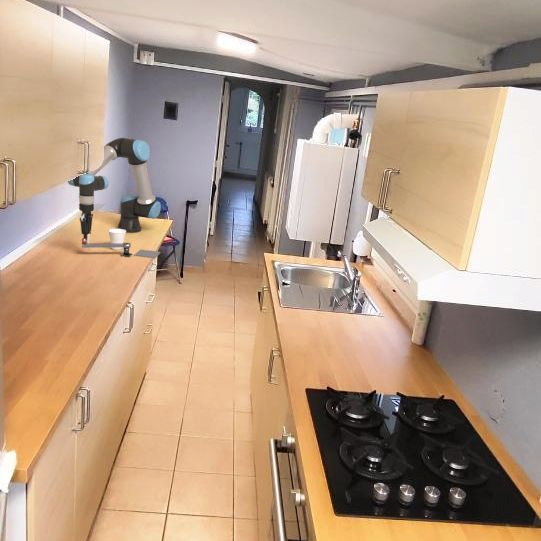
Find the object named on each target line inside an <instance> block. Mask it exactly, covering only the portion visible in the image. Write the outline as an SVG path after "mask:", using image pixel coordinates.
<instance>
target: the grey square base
mask: <svg viewBox="0 0 541 541" xmlns="http://www.w3.org/2000/svg"><path fill="white" fill-rule="evenodd" d="M119 256H120V257H123V256H124V257H125V258H131V257H132V256H133V253H130V248H124V247H123V252H122V253H121V254H120V255H119Z"/></svg>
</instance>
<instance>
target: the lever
mask: <svg viewBox="0 0 541 541" xmlns="http://www.w3.org/2000/svg"><path fill="white" fill-rule="evenodd" d="M81 245H82V246H81V247H82V248H90V249H91V248H111V247H123V249H124V248H129V249H130V248H131V246H132V245H131V243H130V242H124V243H111V242H109V243H108V242H106V243H103V242H102V243H101V242H100V243H99V242H93V243H92V242H91V243H90V242H89V243H87V238H81Z"/></svg>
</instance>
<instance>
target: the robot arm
mask: <svg viewBox="0 0 541 541" xmlns="http://www.w3.org/2000/svg"><path fill="white" fill-rule="evenodd" d="M103 147H104V160H103V163H102V165H101V166H100V167H99V168H98V169H96V170H94V171H90V172H88V173H86V174H83V175H80V176H78V177H76V178H75V179H73V180H70V181H67V184H68V185H69V186H73V187H76V188H77V187H78V189H79V190H78V191H79V193H78V200H79V201H78V202H79V203H78V210H79V211H81V217H79V221H80V230H81V235H83V238H87V243H90V235H91V234H92V225H93V217H94V214H93V213H92V212H94V210H95V207H94V206H95V205H94V203H95V192H96V191H103V190H106V189H107V188H108V186H109V184H110V183H109V182H110V181H109V179H108V177H106V176H105V175H97V174H99V172H100V171H101V170H103V168H104V167H105V166H107V165H108V164H109V163H110V162H112V161H114V160H116V159H118V158H124V159H127V162H128V165H130V166H131V168H132V174H133V176H134V181H135V186H136V191H137V194H130V195H128V194H127V195H123V196H121V199H120V219H119V222H118V224H117V229H123V230H126V233H131V234H132V233H139V232H141V231H142V225H141V223H140V218H146V219H149V220H150V219H151V220H155V219H156V218H158V217H159V215H160V213H161V209H162V206H161V204H162V203H161V202H160V201H157V199H156V196H155V195H154V194H153V192H152V191H153V190H152V187H151V182H150V177H149V172H148V169H147V168H148V167H147V162H148V160H149V158H150V156H151V155H150V153H151V150H150V146H149V144H148V143H147V141H144V140H141V139H133V138H126V137H119V138H116V139H113V140H111V141H110V142H108V143H106V144H105V145H104V146H103ZM139 217H140V218H139Z"/></svg>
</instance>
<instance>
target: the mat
mask: <svg viewBox="0 0 541 541" xmlns="http://www.w3.org/2000/svg"><path fill="white" fill-rule="evenodd" d="M160 254H161V251H155V250H149V249H148V250H147V249H139V250H138V251H137V252H136V253H135V254H134V255H133V256H134V257H140V258H141V257H143V258H149V259H156V258H157V257H158V256H159V255H160Z"/></svg>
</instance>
